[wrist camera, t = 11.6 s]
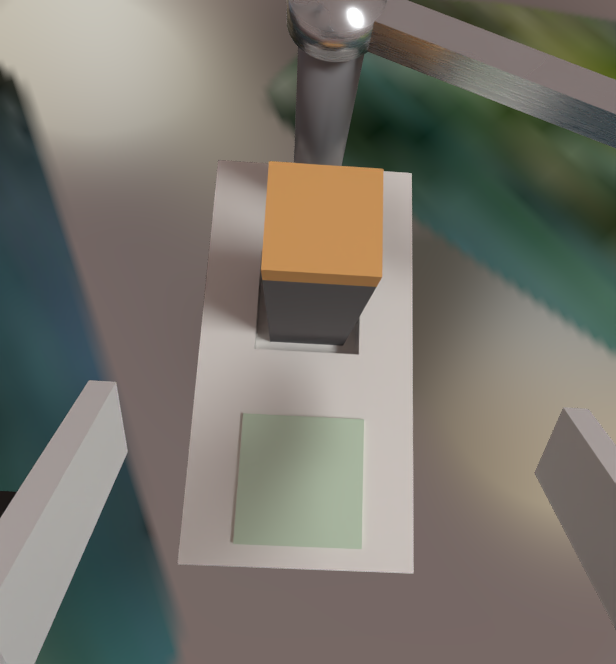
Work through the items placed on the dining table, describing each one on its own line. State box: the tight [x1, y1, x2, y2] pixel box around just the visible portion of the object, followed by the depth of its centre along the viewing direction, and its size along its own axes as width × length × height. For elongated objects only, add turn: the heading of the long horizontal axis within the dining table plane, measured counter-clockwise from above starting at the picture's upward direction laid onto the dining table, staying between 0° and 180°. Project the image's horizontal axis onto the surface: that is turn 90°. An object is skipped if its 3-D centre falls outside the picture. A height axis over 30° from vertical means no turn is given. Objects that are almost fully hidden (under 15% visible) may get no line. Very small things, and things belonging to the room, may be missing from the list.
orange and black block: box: [261, 161, 383, 346], centre depth 22 cm, size 4×4×11 cm
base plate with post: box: [177, 47, 414, 573], centre depth 21 cm, size 21×11×13 cm, turn 177°
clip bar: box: [287, 0, 616, 148], centre depth 16 cm, size 17×3×2 cm, turn 67°
